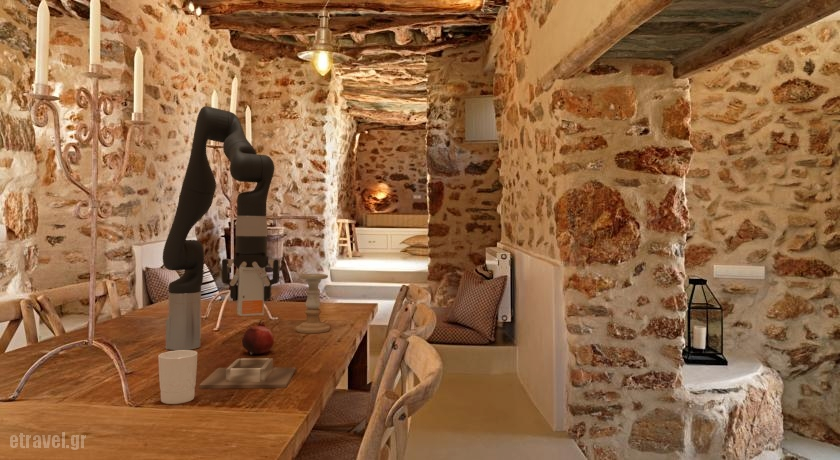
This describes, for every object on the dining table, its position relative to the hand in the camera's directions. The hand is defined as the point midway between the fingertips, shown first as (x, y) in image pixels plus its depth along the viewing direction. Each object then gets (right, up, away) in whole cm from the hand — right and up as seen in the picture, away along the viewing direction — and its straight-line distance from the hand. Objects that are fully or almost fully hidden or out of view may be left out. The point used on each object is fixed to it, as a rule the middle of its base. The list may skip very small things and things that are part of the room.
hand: (250, 300), depth 140 cm
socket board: (0, -20, 0) cm, 20 cm away
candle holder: (+3, -19, +65) cm, 67 cm away
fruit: (-6, -19, +28) cm, 34 cm away
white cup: (-11, -20, -17) cm, 28 cm away
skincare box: (0, -4, 0) cm, 4 cm away
